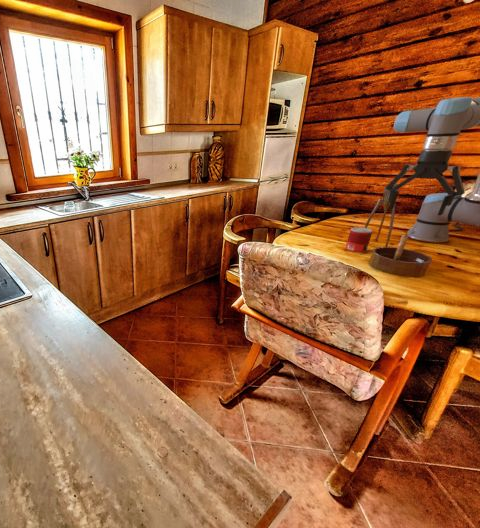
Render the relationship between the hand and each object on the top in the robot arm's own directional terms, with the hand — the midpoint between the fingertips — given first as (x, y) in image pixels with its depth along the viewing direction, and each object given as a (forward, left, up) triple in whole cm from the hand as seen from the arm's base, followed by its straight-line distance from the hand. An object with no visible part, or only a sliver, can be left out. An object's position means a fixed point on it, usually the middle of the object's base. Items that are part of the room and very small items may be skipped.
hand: (414, 211), depth 103 cm
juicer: (-30, -18, -25) cm, 43 cm away
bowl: (-4, 0, -25) cm, 25 cm away
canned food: (-14, -18, -25) cm, 34 cm away
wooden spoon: (0, 0, -24) cm, 24 cm away
